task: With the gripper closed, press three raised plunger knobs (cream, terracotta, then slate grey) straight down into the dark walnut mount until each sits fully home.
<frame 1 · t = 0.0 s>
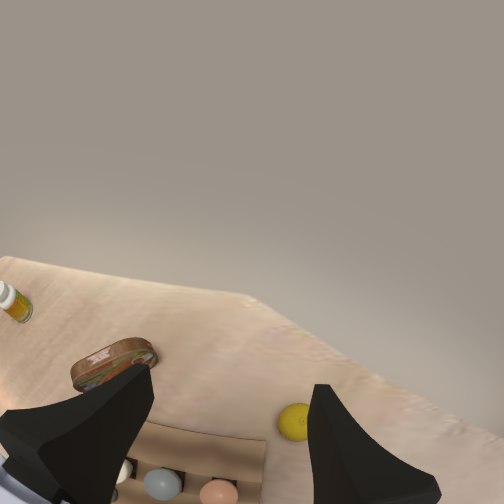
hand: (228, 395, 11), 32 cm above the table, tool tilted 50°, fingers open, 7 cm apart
lemon: (294, 423, 37), on the table
knob slate: (166, 482, 27), point 6 cm above the table, slide at 0.0 cm
supplement bottle: (25, 312, 47), on the table
mount: (178, 476, 32), on the table
knob cream: (117, 468, 27), point 6 cm above the table, slide at 0.0 cm
knob terracotta: (220, 493, 26), point 6 cm above the table, slide at 0.0 cm
tin: (123, 373, 42), on the table
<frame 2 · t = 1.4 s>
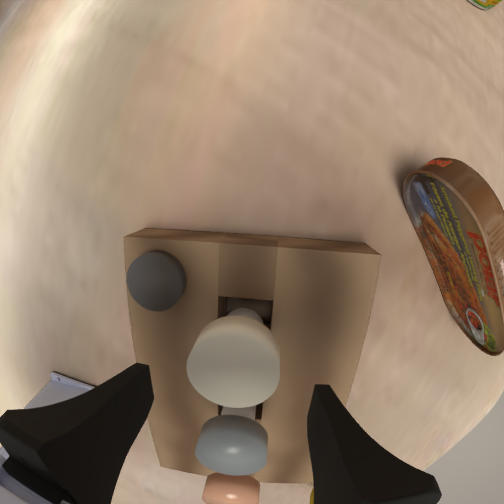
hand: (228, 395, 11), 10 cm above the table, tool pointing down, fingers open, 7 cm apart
knob slate: (235, 430, 17), point 6 cm above the table, slide at 0.0 cm
mount: (244, 376, 23), on the table
knob cream: (238, 346, 15), point 6 cm above the table, slide at 0.0 cm
knob terracotta: (233, 478, 19), point 6 cm above the table, slide at 0.0 cm
tin: (441, 249, 20), on the table
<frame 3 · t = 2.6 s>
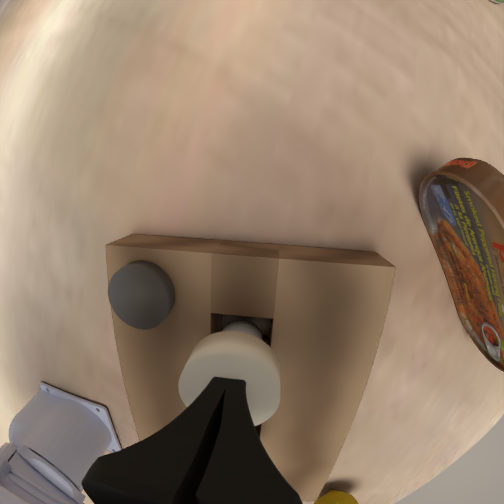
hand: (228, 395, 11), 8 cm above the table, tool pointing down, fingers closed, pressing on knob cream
lemon: (332, 489, 24), on the table
mount: (241, 394, 21), on the table
knob cream: (235, 363, 14), point 6 cm above the table, slide at 0.9 cm, touching gripper
tin: (456, 258, 17), on the table
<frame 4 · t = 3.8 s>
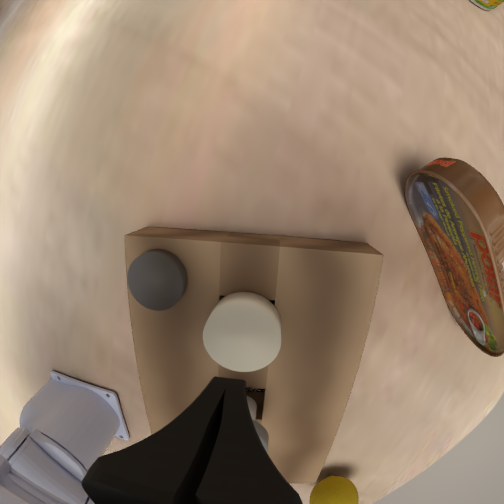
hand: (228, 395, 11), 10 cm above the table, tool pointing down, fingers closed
lemon: (330, 474, 26), on the table
knob slate: (236, 430, 17), point 6 cm above the table, slide at 0.0 cm
mount: (245, 376, 23), on the table
knob cream: (246, 320, 18), point 3 cm above the table, slide at 3.2 cm
tin: (443, 250, 20), on the table
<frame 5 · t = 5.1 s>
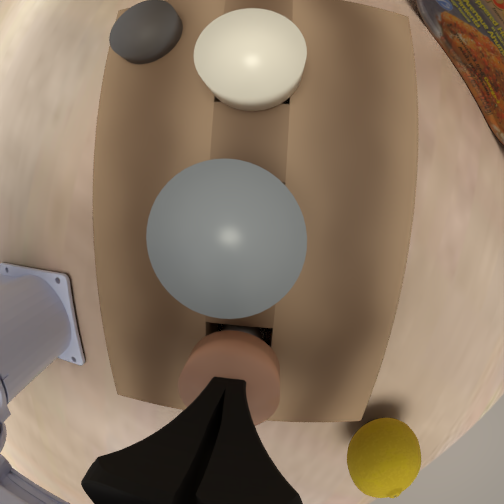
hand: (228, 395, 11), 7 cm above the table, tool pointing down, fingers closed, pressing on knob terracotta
lemon: (372, 420, 20), on the table
knob slate: (235, 227, 10), point 6 cm above the table, slide at 0.0 cm
mount: (250, 210, 16), on the table
knob cream: (254, 71, 12), point 3 cm above the table, slide at 3.2 cm
knob terracotta: (235, 362, 14), point 4 cm above the table, slide at 2.0 cm, touching gripper
tin: (470, 71, 13), on the table
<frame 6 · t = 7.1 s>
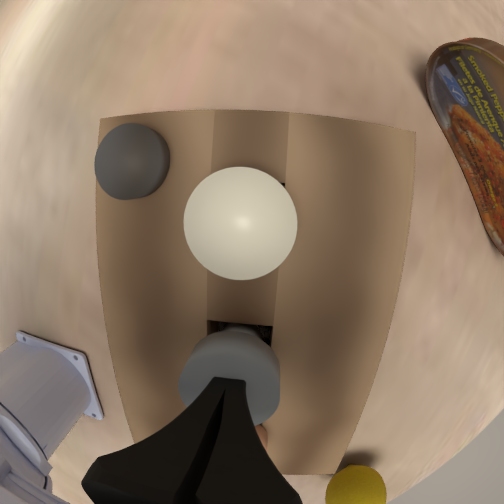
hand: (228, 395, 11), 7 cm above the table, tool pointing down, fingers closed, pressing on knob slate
lemon: (349, 463, 22), on the table
knob slate: (235, 362, 14), point 5 cm above the table, slide at 1.8 cm, touching gripper
mount: (244, 321, 18), on the table
knob cream: (245, 217, 14), point 3 cm above the table, slide at 3.2 cm
knob terracotta: (235, 430, 17), point 3 cm above the table, slide at 3.2 cm
tin: (473, 162, 15), on the table
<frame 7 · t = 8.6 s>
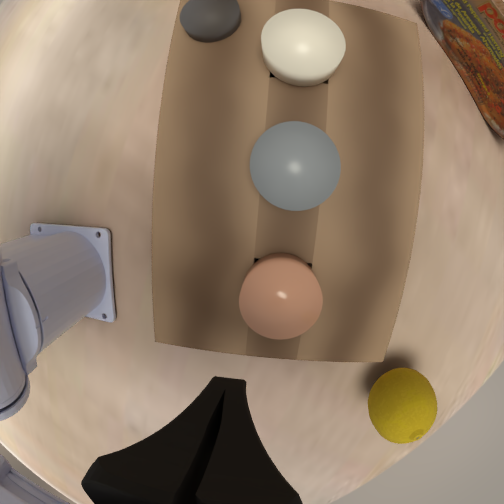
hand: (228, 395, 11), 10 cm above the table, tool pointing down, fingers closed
lemon: (387, 375, 22), on the table
knob slate: (292, 168, 16), point 3 cm above the table, slide at 3.2 cm
mount: (289, 170, 19), on the table
knob cream: (300, 57, 14), point 3 cm above the table, slide at 3.2 cm
knob terracotta: (280, 286, 18), point 3 cm above the table, slide at 3.2 cm
tin: (466, 69, 16), on the table
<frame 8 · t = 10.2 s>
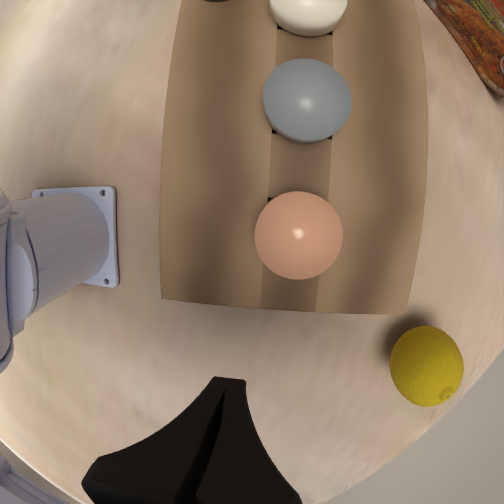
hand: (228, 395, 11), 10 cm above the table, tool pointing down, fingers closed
lemon: (405, 338, 22), on the table
knob slate: (302, 109, 15), point 3 cm above the table, slide at 3.2 cm
mount: (298, 120, 18), on the table
knob cream: (304, 14, 13), point 3 cm above the table, slide at 3.2 cm
knob terracotta: (295, 228, 17), point 3 cm above the table, slide at 3.2 cm
tin: (460, 35, 15), on the table
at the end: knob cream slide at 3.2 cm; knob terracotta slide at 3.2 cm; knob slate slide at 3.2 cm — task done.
